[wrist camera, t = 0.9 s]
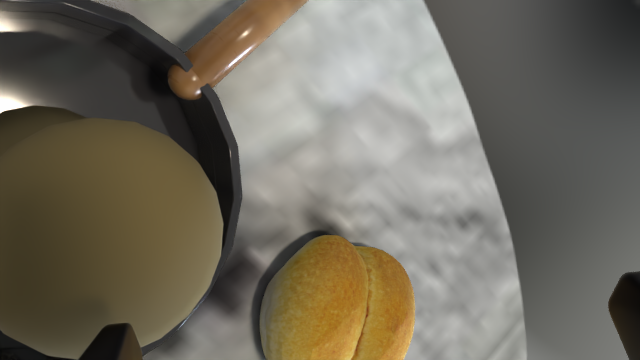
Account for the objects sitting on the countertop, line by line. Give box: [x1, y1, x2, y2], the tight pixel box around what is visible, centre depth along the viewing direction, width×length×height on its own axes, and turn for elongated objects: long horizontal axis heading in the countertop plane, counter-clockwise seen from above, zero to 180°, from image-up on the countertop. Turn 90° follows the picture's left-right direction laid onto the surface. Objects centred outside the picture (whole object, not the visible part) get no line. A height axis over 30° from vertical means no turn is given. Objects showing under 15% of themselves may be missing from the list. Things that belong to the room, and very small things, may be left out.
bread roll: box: [260, 235, 415, 360], centre depth 26 cm, size 8×9×4 cm
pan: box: [0, 0, 242, 360], centre depth 17 cm, size 13×13×4 cm
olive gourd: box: [0, 105, 223, 360], centre depth 14 cm, size 6×6×11 cm
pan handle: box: [168, 0, 309, 100], centre depth 20 cm, size 9×2×2 cm, turn 129°
